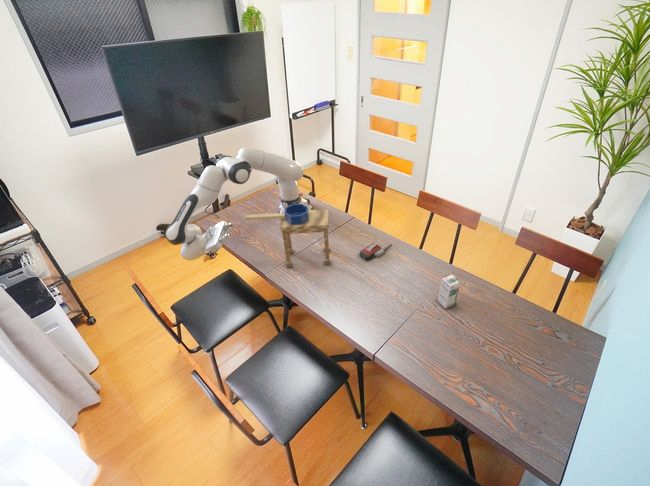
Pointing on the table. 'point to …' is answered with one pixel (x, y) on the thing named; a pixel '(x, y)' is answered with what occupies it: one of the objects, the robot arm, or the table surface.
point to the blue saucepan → (286, 215)
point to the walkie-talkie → (372, 251)
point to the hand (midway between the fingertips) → (230, 229)
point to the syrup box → (448, 291)
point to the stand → (306, 231)
